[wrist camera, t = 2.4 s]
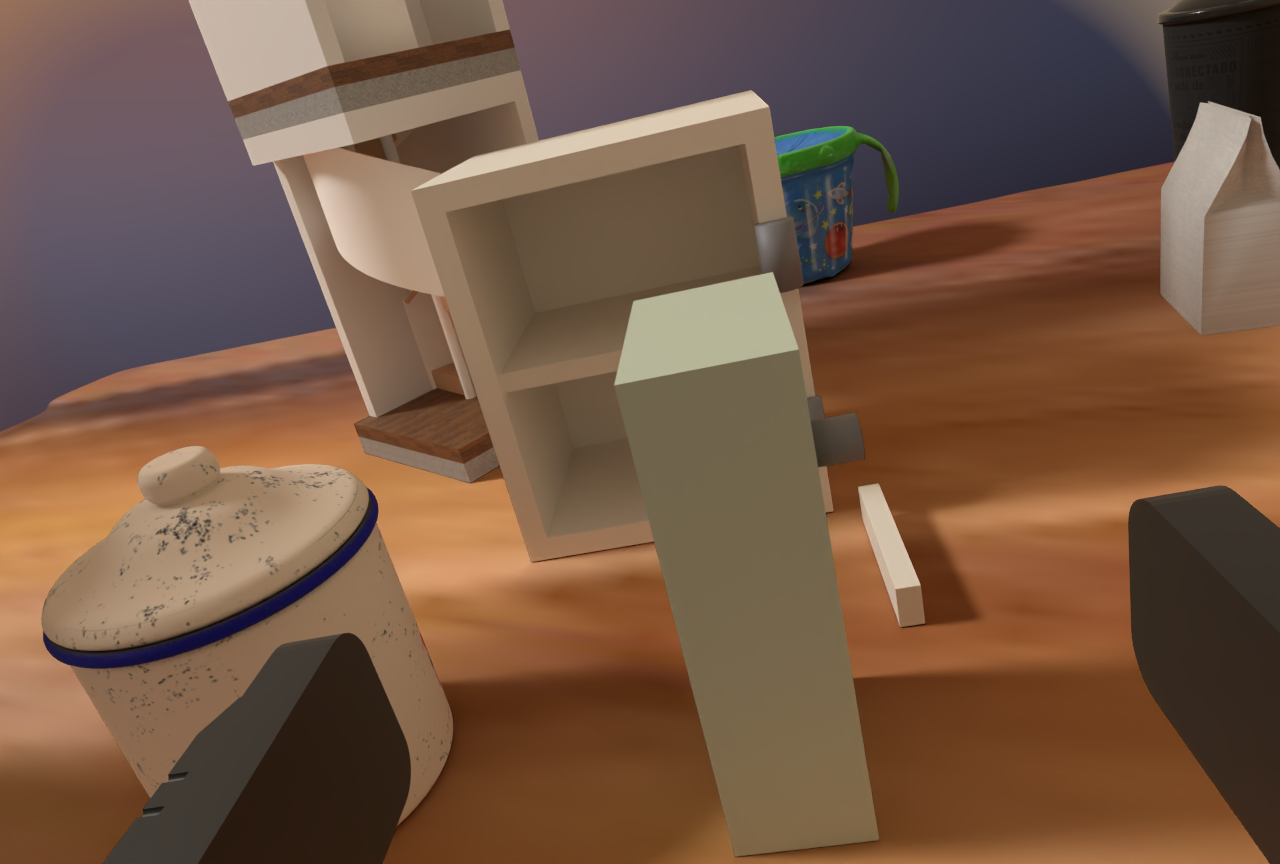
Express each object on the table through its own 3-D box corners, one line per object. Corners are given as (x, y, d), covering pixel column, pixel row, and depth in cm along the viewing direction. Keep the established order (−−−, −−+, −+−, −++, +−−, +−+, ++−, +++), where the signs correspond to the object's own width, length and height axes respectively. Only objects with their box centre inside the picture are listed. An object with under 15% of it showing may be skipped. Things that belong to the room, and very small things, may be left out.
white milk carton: (1201, 335, 43) (1206, 127, 39) (1160, 294, 49) (1161, 109, 45) (1288, 325, 42) (1303, 109, 38) (1235, 284, 48) (1244, 94, 44)
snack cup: (698, 311, 67) (670, 176, 63) (714, 273, 76) (691, 153, 72) (911, 276, 63) (896, 129, 59) (901, 240, 72) (887, 111, 68)
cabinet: (492, 687, 31) (325, 237, 24) (562, 460, 47) (473, 156, 41) (925, 623, 28) (864, 113, 22) (840, 409, 45) (792, 80, 39)
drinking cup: (1157, 252, 55) (1159, -107, 48) (1155, 220, 61) (1156, -103, 54) (1308, 238, 52) (1337, -154, 44) (1289, 206, 58) (1312, -144, 50)
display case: (365, 453, 55) (108, -205, 41) (495, 385, 61) (310, -203, 48) (470, 483, 47) (195, -319, 33) (607, 401, 53) (424, -298, 40)
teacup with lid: (510, 686, 30) (399, 377, 26) (359, 927, 23) (165, 548, 18) (248, 674, 35) (114, 409, 30) (48, 871, 27) (-171, 557, 23)
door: (734, 856, 22) (614, 385, 17) (726, 694, 28) (633, 301, 23) (920, 835, 21) (852, 339, 16) (874, 673, 27) (812, 263, 22)
